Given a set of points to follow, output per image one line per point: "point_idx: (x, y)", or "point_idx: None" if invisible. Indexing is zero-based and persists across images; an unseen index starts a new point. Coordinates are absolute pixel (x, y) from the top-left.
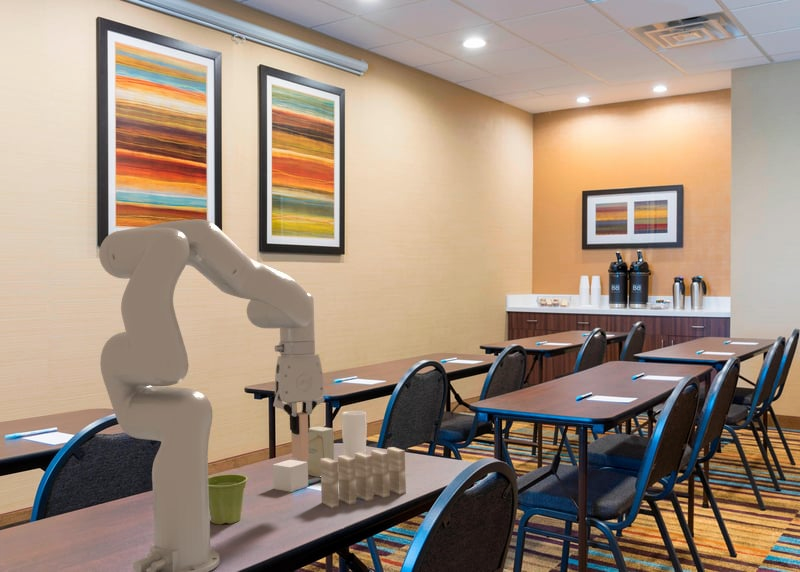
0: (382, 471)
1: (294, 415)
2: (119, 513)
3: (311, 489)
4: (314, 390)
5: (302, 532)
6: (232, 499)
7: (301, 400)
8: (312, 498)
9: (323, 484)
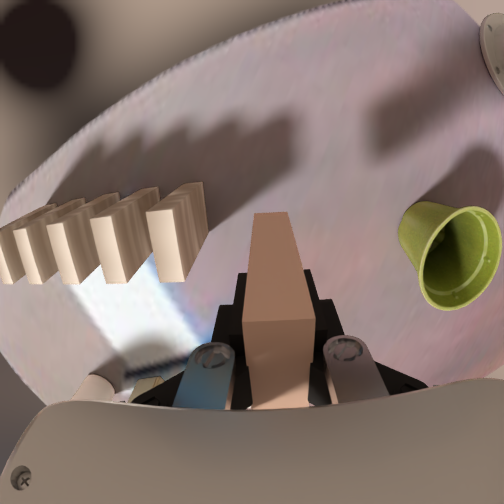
0: (52, 214)
1: (341, 346)
2: (485, 344)
3: (197, 331)
4: (103, 497)
5: (327, 55)
6: (449, 207)
7: (330, 408)
8: (215, 274)
9: (198, 236)
